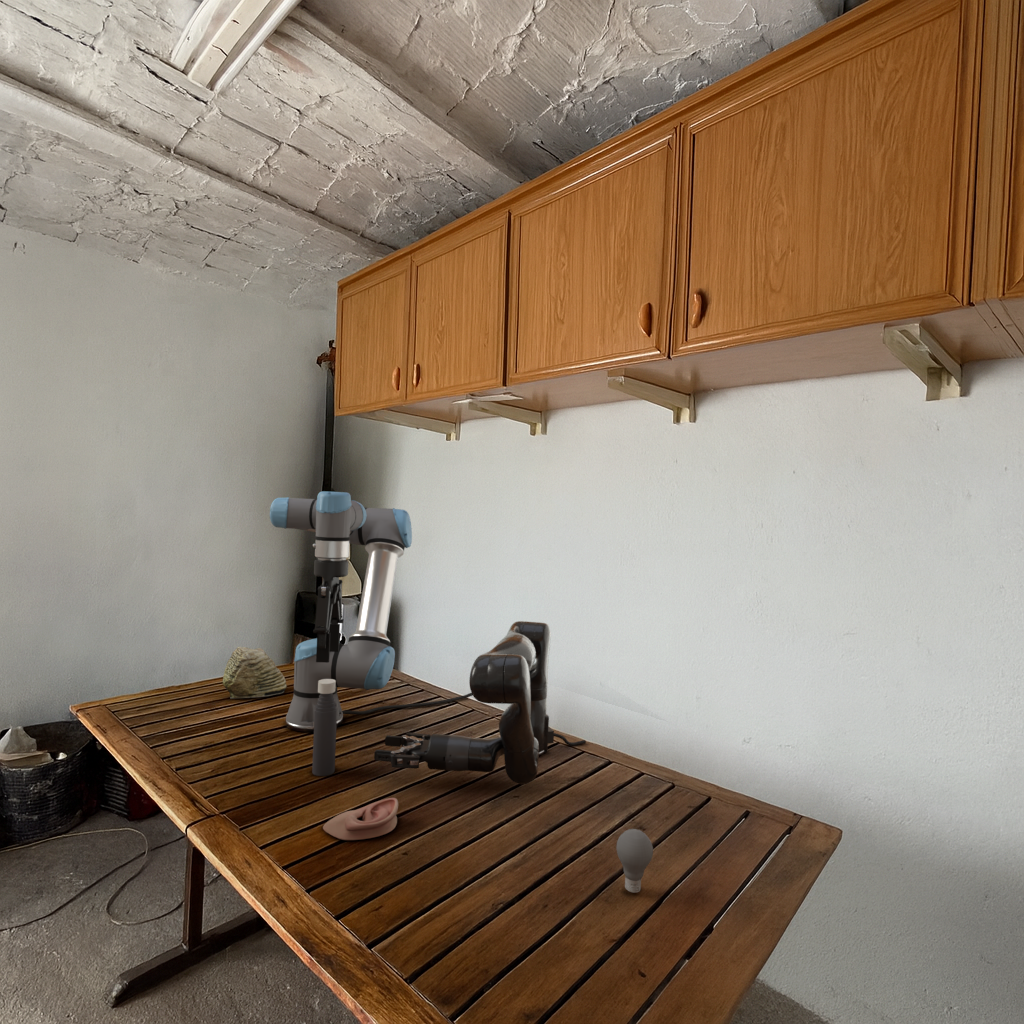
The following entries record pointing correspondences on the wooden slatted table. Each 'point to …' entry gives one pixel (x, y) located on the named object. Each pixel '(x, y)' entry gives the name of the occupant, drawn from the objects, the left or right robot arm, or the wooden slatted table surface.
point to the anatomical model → (364, 821)
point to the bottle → (324, 735)
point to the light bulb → (634, 857)
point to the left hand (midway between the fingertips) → (327, 656)
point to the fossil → (252, 674)
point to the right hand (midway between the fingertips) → (380, 747)
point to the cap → (326, 686)
